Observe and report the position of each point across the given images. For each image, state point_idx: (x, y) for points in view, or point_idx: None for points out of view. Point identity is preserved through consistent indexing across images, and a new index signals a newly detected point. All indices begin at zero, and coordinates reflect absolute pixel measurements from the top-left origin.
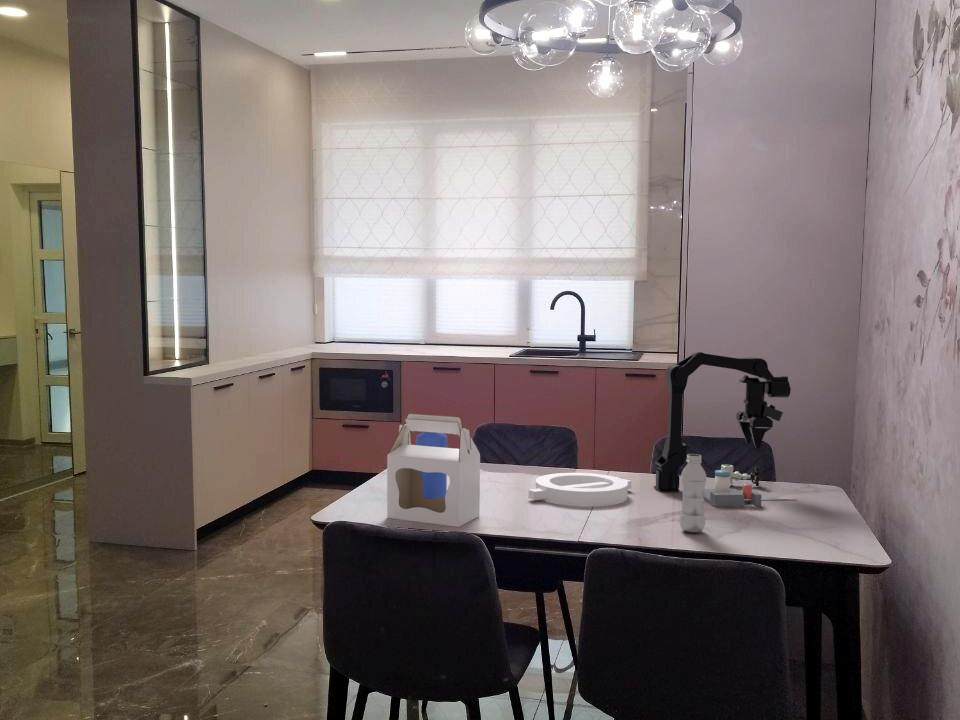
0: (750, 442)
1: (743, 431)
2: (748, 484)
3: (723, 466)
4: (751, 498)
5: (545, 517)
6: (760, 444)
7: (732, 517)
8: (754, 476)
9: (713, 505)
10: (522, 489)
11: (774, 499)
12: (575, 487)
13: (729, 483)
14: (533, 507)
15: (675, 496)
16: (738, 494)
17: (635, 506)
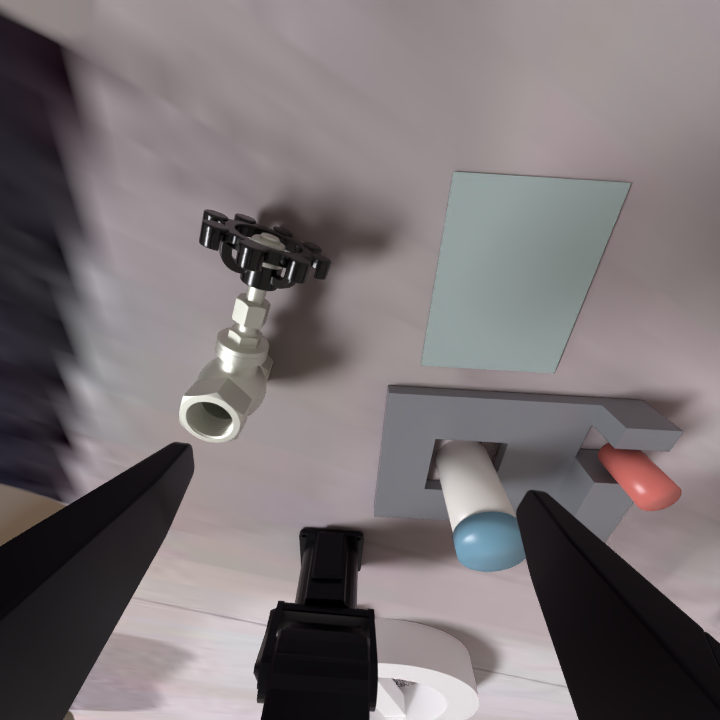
0: (181, 455)
1: (74, 697)
2: (654, 491)
3: (229, 440)
4: None
5: (517, 708)
6: (593, 537)
7: (700, 521)
8: (280, 270)
9: None
10: None
11: (581, 298)
12: (394, 700)
13: (502, 490)
14: None
15: (417, 552)
16: (629, 499)
17: (493, 628)
